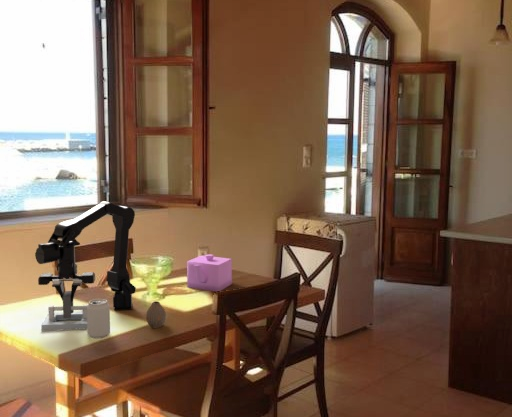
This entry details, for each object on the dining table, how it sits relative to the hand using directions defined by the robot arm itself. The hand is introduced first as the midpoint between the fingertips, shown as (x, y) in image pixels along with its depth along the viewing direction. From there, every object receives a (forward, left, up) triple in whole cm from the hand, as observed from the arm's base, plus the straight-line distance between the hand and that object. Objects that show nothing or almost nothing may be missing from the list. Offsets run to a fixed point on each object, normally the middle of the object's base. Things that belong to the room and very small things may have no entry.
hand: (68, 301), depth 215 cm
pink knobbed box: (-52, -43, -8) cm, 68 cm away
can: (-12, +13, -8) cm, 20 cm away
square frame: (0, 0, -8) cm, 8 cm away
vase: (-31, +6, -8) cm, 33 cm away
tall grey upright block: (0, 0, -5) cm, 5 cm away
